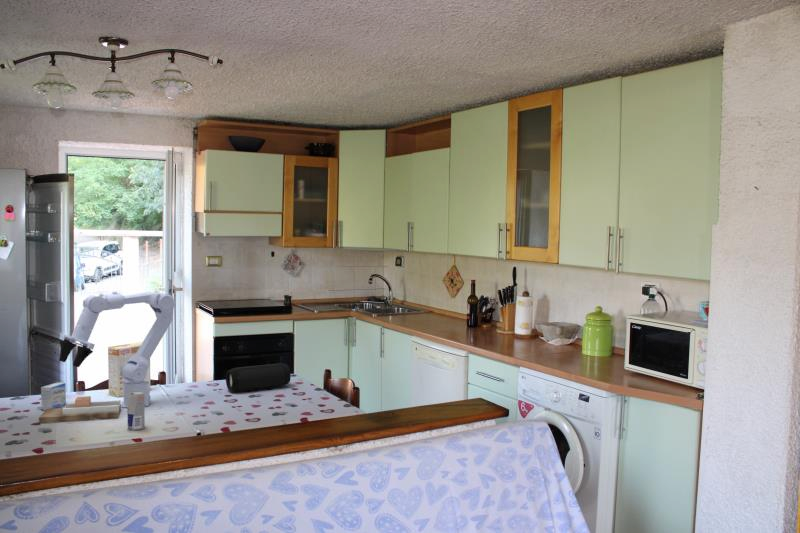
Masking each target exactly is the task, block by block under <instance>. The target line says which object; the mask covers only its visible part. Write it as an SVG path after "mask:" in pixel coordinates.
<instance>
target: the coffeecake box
mask: <svg viewBox="0 0 800 533" xmlns="http://www.w3.org/2000/svg"><path fill="white" fill-rule="evenodd" d="M142 343H143V341H139V342H132V343H127V344H120V345H119V344H118V345H112V346H108V347H107V355H108V356H107V358H108V361H107V364H108V366H107V367H108V368H107V370H108V395H109V396H113V397H116V398H119V397H124V391H123V380H124V377H122V375H121V368H122V366H123V365H124V364H125V363H127V362H128V360H129V359H130V358H131V357H132V356H134V355H135V354H136V353H137V351H138V349H139V348H140V346H141V344H142ZM148 362H149V368H148V369H147V374H146V377H145V379H144V381H149V385H150V386H151V358H150V359H149V361H148Z"/></svg>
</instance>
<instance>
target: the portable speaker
mask: <svg viewBox="0 0 800 533" xmlns="http://www.w3.org/2000/svg"><path fill="white" fill-rule="evenodd" d="M291 377H292V376H291V368H290V367H289V365H287V364H285V363H281V362H278V363H269V364H268V363H267V364H260V365H250V366H249V365H248V366H242V367H241V366H240V367H233V368H231V369H229V370H227V371H226V374H225V384H226V388H227V390H228V391H230V392H234V393H242V392H249V391H251V392H252V391H258V390H265V389H266V390H267V389H275V388H282V387H284V386H286V385H288V384H289V383H290V382H291Z"/></svg>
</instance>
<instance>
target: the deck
mask: <svg viewBox="0 0 800 533" xmlns="http://www.w3.org/2000/svg"><path fill="white" fill-rule="evenodd" d="M63 408H64V407H60V408H49V409H45V410H43V412H42V413H41V414H40V415H39V417H38V424H49V423H51V424H52V423H53V422H54V423H65V422H66V421H69V422H81V421H96V420H95V419H101V420H112V419H113V420H114V419H119V417H120V414H121V411H122V403H120V406H119V411H115V412H99V413H83V414H67V415H63ZM66 423H67V422H66Z"/></svg>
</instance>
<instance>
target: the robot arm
mask: <svg viewBox="0 0 800 533" xmlns="http://www.w3.org/2000/svg"><path fill="white" fill-rule="evenodd" d="M142 303H145V304H147V305H149V307H150V308H151V309H152V311H153V312H154V314H155V317H156V319H155V321H154V323H153V324H152V326H151V327H150V329H149V331H148V333H147V334H146V336H145V337H144V338H143V339H144V340H143V341H142V342H143V343H142V344H141V346H140V348H139V349H138V351H137V353H136V354H135V355H134V356H132V357H131V358H130V359H129V360H128V362H127V363H125V364H124V365H123V366H122V368H121V375H122V377H124V380H123V391H124V396H123V403H121V409H122V408H124V409H125V408H127V396H128V393H129V392H134V391H142V392H144V404H145V407H150V406H149V405H150V402H151V394H150V391H151V384H150V385H149V381H144V379H145V377H146V374H147V369H148V368H149V362H148V361H149V359H150V360H151V357H152V356H153V354H154V352H155V351H156V348H157V347H158V345H159V344H160V342H161V340H162V338H163V337H164V335H165V333H166V332H167V331H168V329H169V327H170V325H171V324H172V322H173V316H174V308H175V307H176V302H175V300H174V297H173V296H172V295H171V294H168V293H161V292H158V291H155V292H151V291H150V292H148V291H146V292H140V293H134V294H128V295H126V294H125V295H123V294H122V293H120V292H117V291H112V292H111V293H108V294H103V293H99V294H98V295H89V296H87V297H86V298H85V299H83V301H82V306H83V308H82V311H81V313H80V315H79V317H78V320H77V322H76V324H75V326H74V329H73V331H72V334H71V335H67V334H63V336H62V340H59V347H60V348H59V349H60V350H59V352H60V353H59V357H58V361H59V362H62V363H65V362H66V361H67V360H68V357H69V356H70V354H71V352H72V351H73V350H74V348H75V347H76V354H75V358H74V361H73V364H72V366H73V367H76V368H80V366H81V365H82V363H83V362H84V361H85V360H86V359H87V357H89V356H90V355H91V354H92V353H93V352H94V351H93V350H94V347H95V345H96V344H95V343H92V342H89V340H90V337H91V335H92V332H93V329H94V327H95V325H96V323H97V321H98V318H99V316H100V313H102V312H104V311H109V310H118V309H122V308H124V307H125V305H130V304H142Z"/></svg>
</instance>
